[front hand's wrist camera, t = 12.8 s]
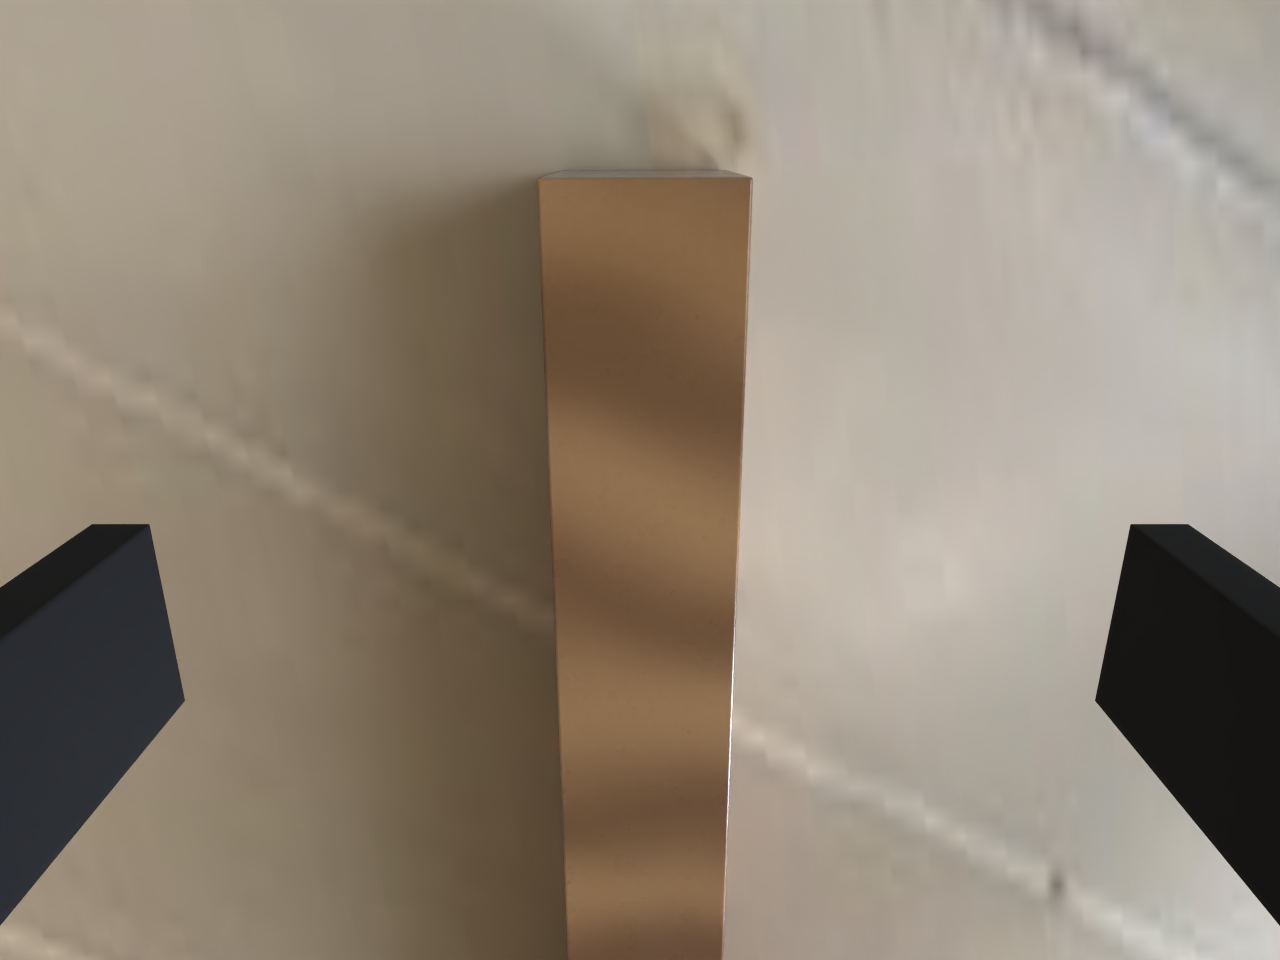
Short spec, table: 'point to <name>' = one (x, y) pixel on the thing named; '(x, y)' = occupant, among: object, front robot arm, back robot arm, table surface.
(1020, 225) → the table surface
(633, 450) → the post
